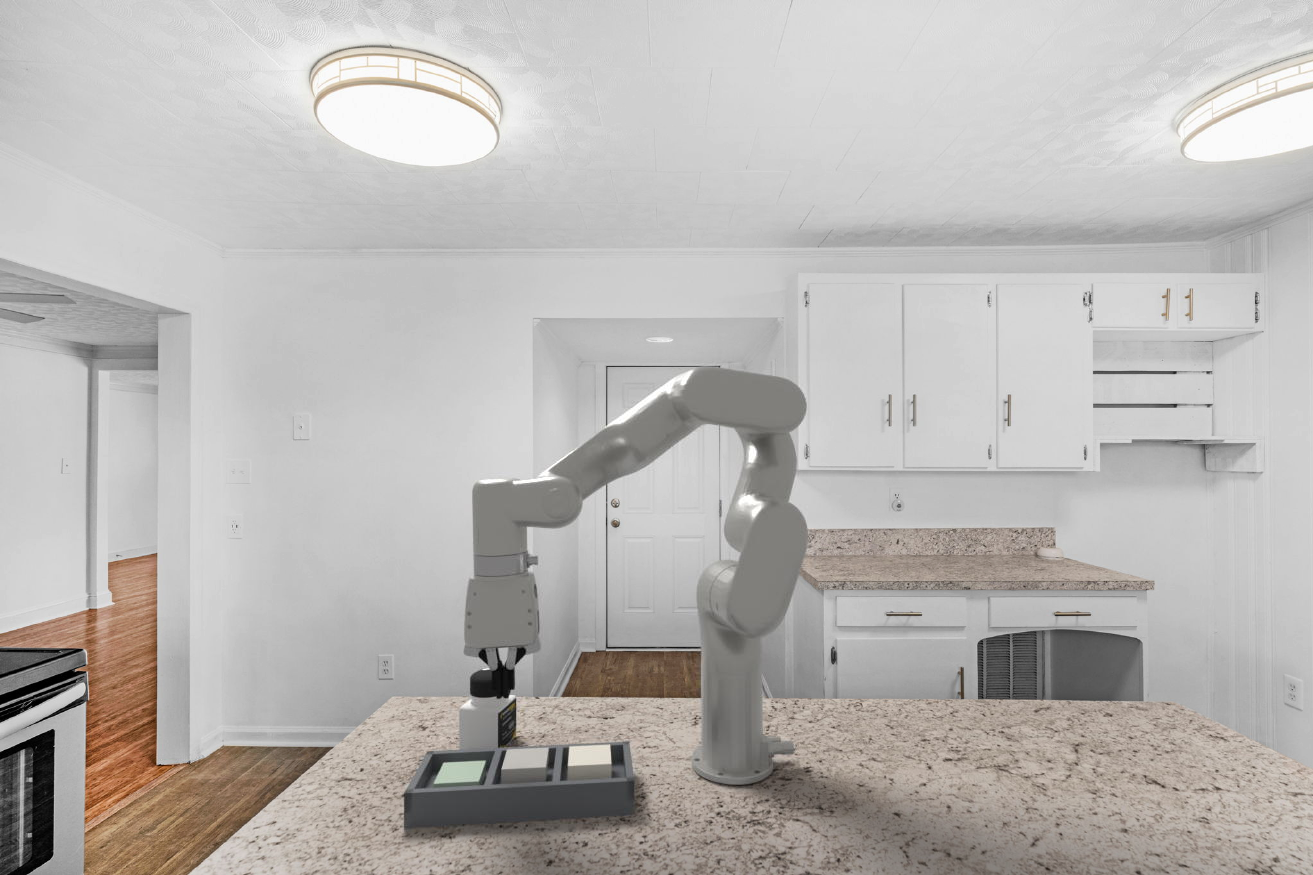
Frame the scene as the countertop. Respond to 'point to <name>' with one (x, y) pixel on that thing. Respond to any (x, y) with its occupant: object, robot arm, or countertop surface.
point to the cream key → (589, 762)
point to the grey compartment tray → (518, 790)
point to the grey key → (525, 765)
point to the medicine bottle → (486, 716)
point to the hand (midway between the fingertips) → (503, 694)
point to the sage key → (461, 774)
